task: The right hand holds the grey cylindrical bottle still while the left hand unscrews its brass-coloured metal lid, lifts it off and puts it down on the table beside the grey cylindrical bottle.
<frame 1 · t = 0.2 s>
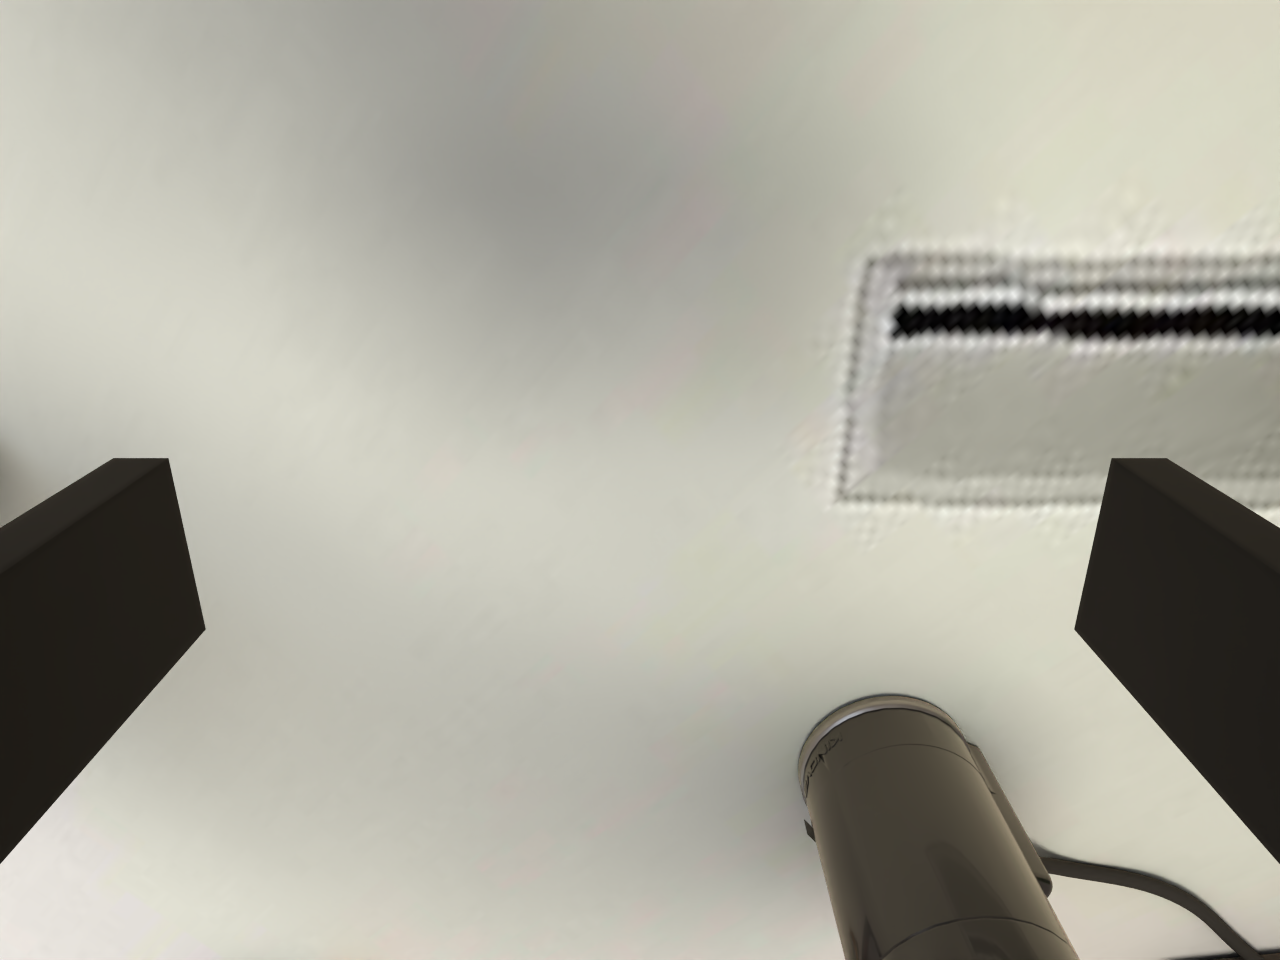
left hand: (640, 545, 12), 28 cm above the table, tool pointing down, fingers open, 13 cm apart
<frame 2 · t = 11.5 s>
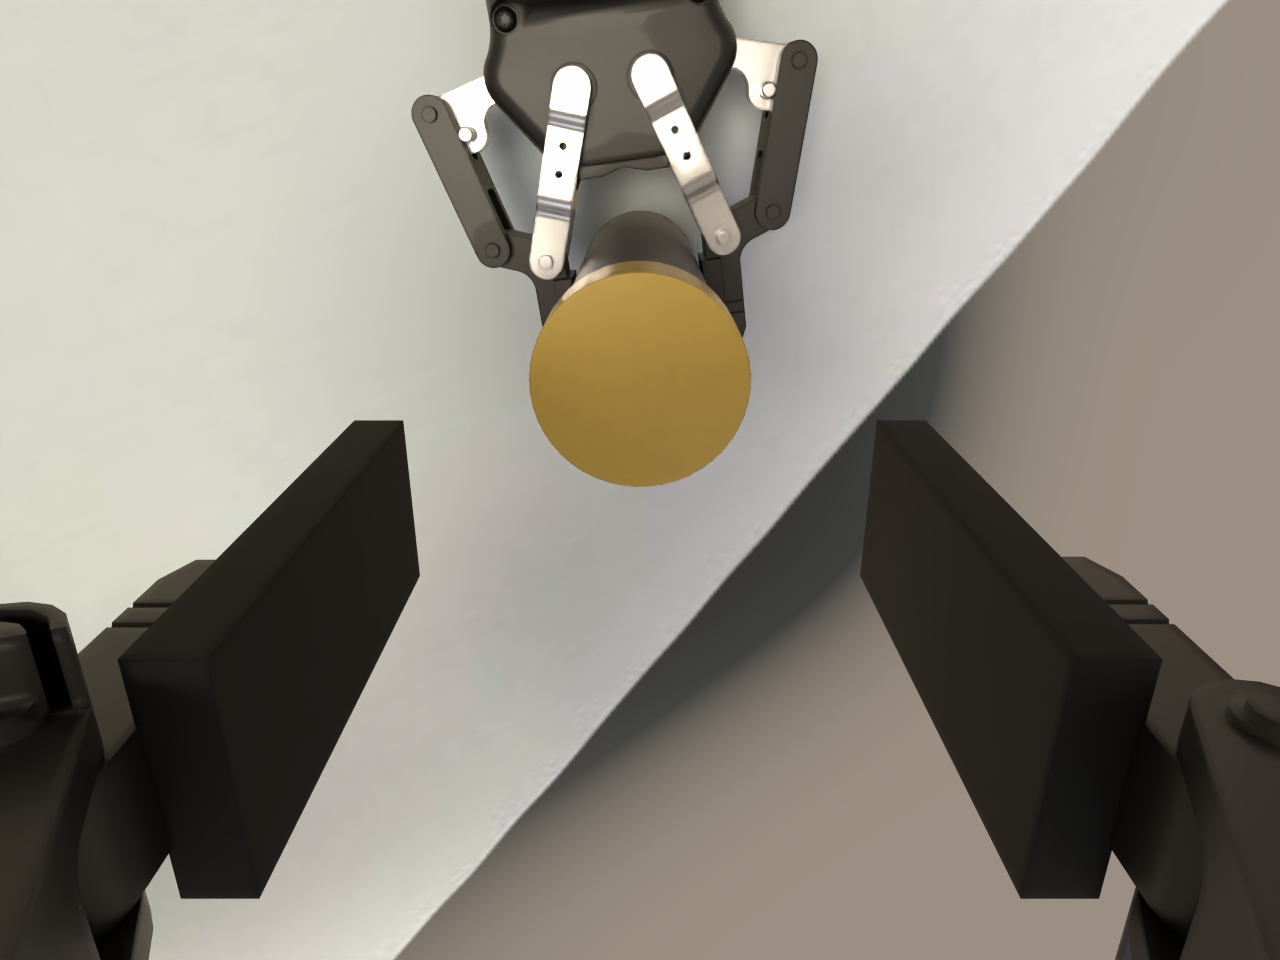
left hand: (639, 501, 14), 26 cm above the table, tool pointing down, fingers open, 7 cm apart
right hand: (650, 361, 33), fingers closed on grey cylindrical bottle, 4 cm apart
grey cylindrical bottle: (640, 266, 38), on the table, touching right hand
lid: (639, 380, 21), point 19 cm above the table, screwed on, not yet turned
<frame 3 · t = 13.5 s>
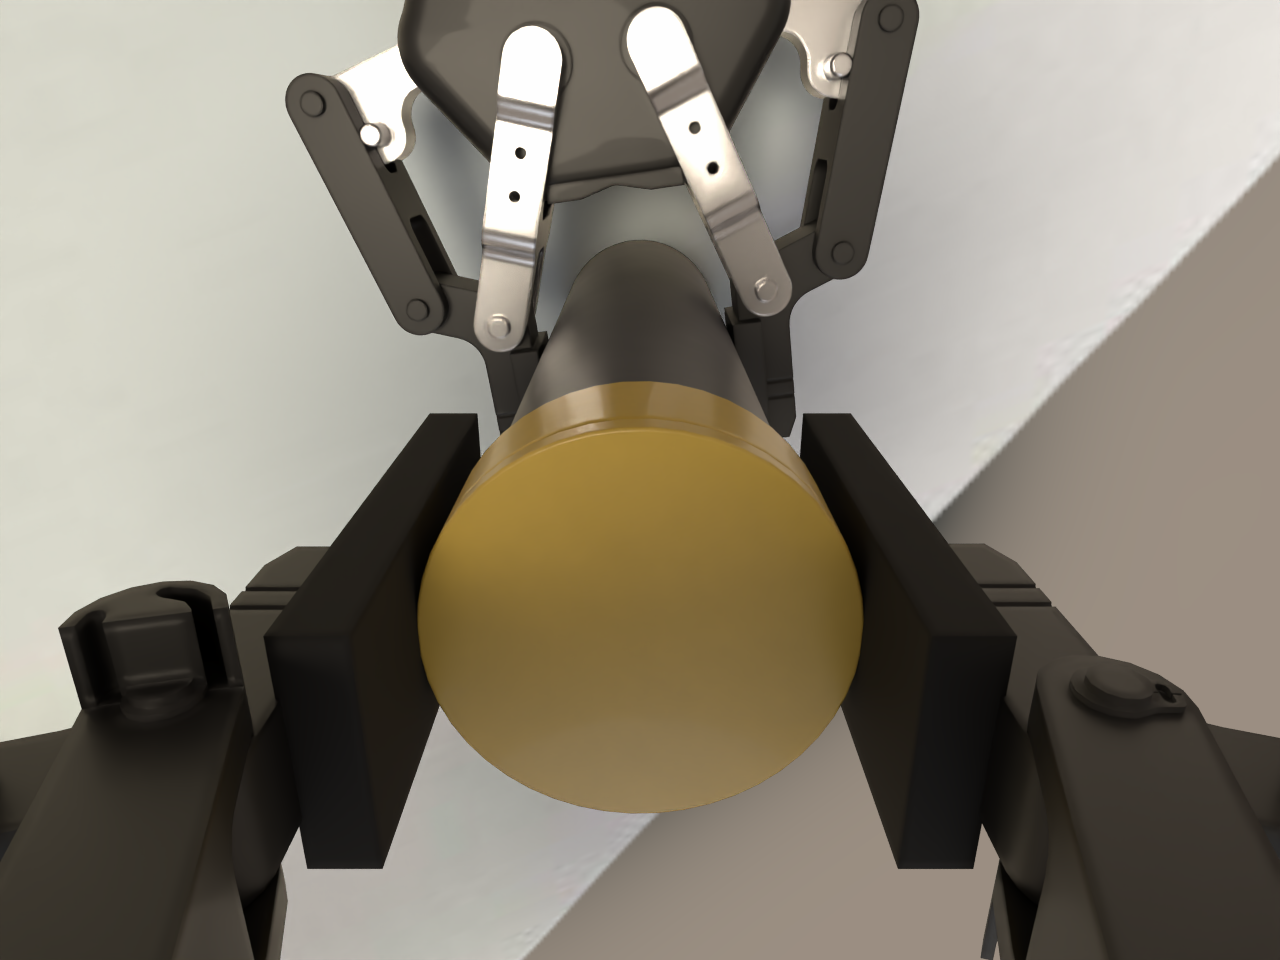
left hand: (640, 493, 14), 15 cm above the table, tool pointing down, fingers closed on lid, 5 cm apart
grey cylindrical bottle: (640, 314, 28), on the table, touching right hand
lid: (640, 624, 10), point 19 cm above the table, screwed on, not yet turned, touching left hand
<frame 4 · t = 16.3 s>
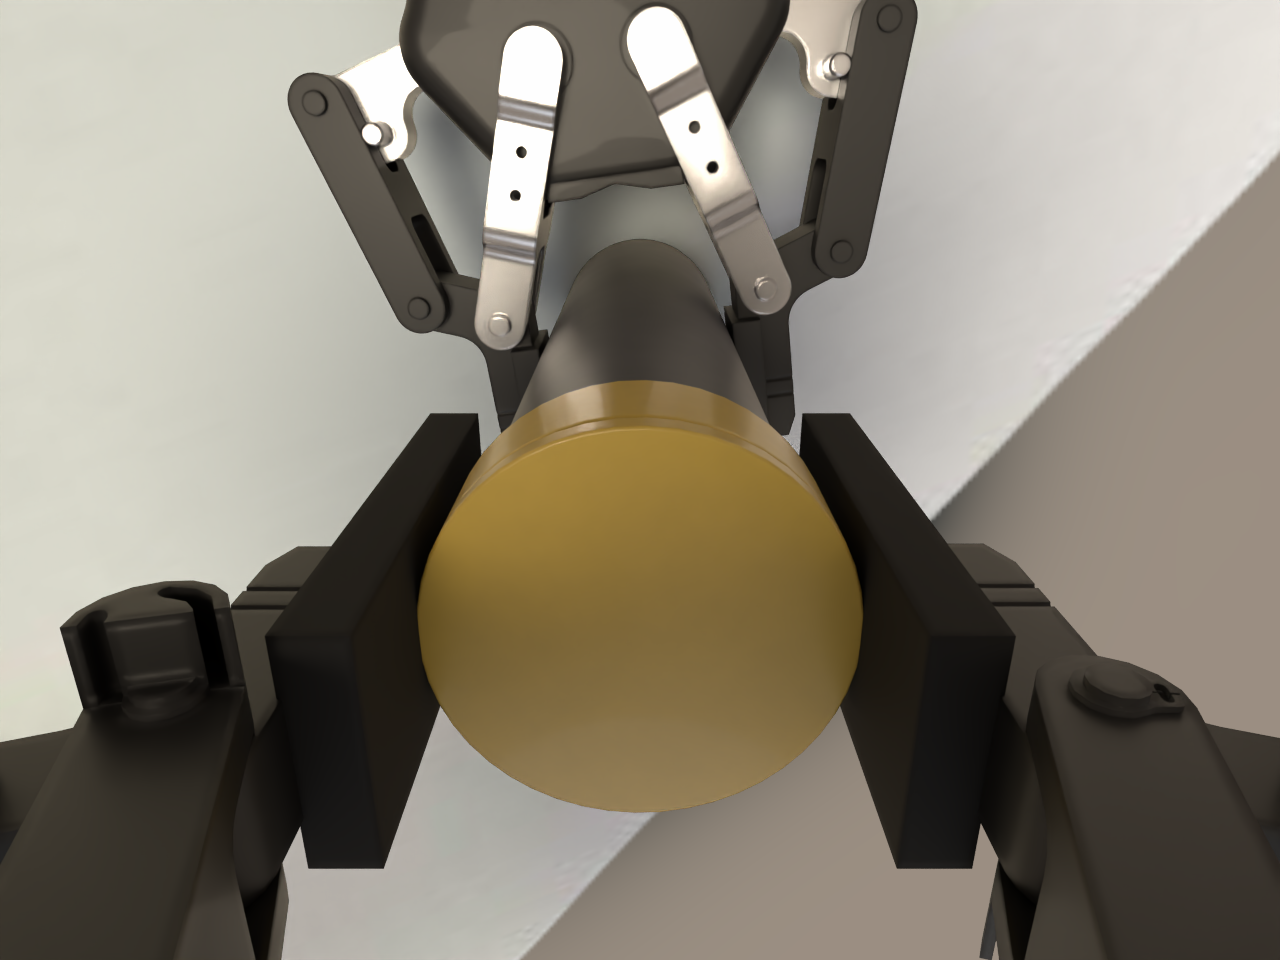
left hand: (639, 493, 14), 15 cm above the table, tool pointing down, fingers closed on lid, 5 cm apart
grey cylindrical bottle: (640, 313, 28), on the table, touching right hand
lid: (640, 623, 10), point 19 cm above the table, turned 84° so far, risen 0.1 cm, still on its thread, touching left hand
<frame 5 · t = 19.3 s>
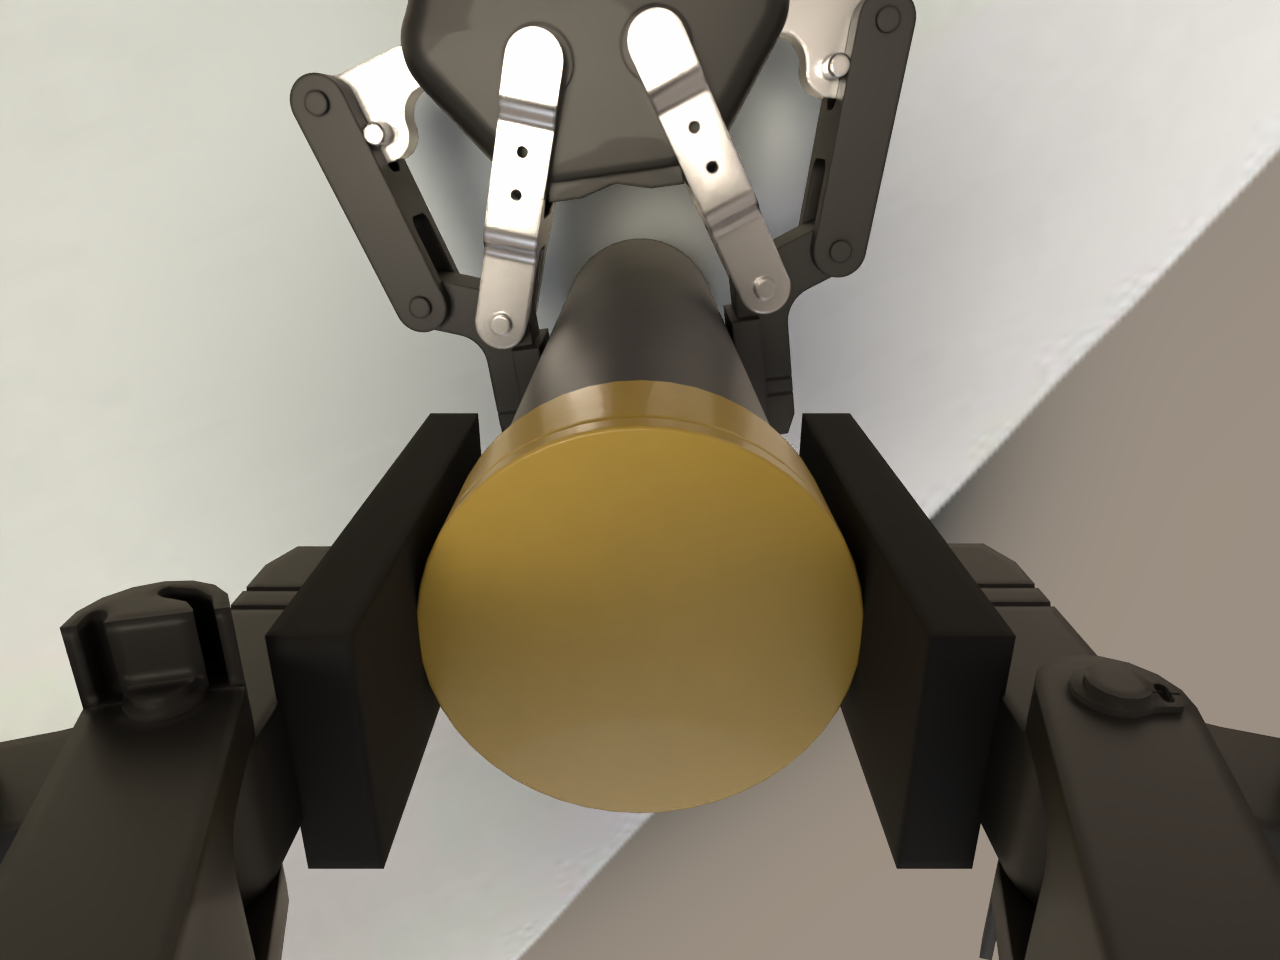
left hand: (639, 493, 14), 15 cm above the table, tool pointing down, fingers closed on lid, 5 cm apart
grey cylindrical bottle: (640, 312, 28), on the table, touching right hand
lid: (640, 623, 10), point 19 cm above the table, turned 167° so far, risen 0.2 cm, still on its thread, touching left hand
when the left hand's fingers open (0 cm above the table, at t = 32.1 s): lid drops 3 cm, point 2 cm above the table.
when the right hand's fingers open (7 cm above the table, at t = 32.8 s): grey cylindrical bottle stays where it is, on the table.
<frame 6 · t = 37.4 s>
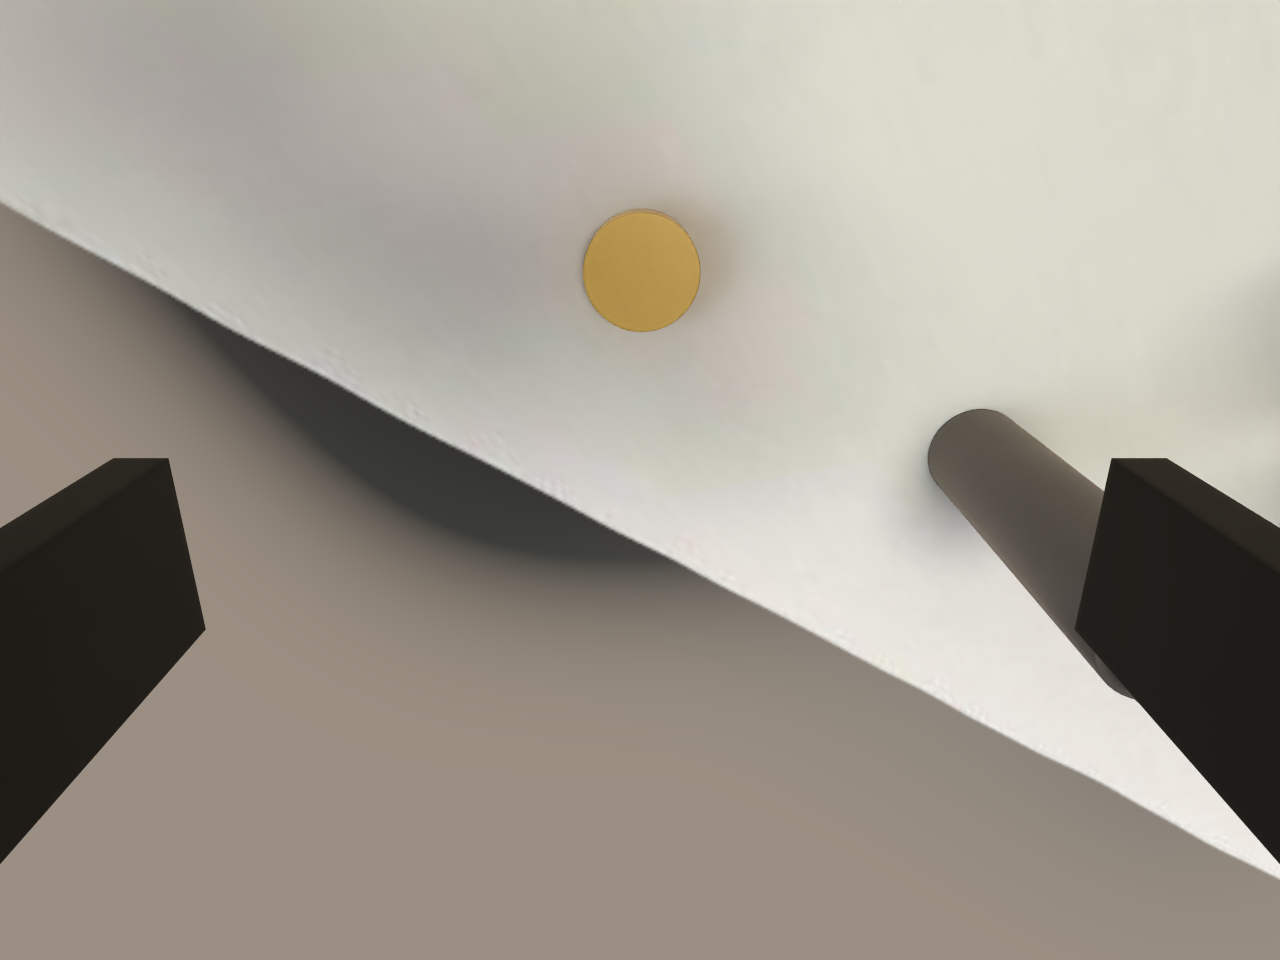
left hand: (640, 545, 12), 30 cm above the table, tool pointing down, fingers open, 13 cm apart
grey cylindrical bottle: (974, 453, 43), on the table
lid: (641, 272, 38), point 2 cm above the table, off its thread
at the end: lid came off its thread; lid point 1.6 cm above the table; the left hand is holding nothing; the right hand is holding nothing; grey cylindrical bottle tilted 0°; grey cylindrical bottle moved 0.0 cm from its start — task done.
